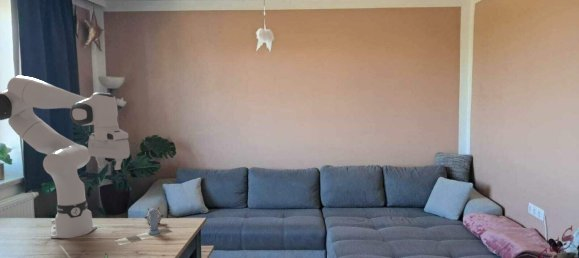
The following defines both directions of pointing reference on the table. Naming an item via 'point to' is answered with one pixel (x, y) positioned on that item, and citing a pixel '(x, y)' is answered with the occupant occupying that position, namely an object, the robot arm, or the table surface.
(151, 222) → the pawn
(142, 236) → the track
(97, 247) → the table surface
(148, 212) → the game die
